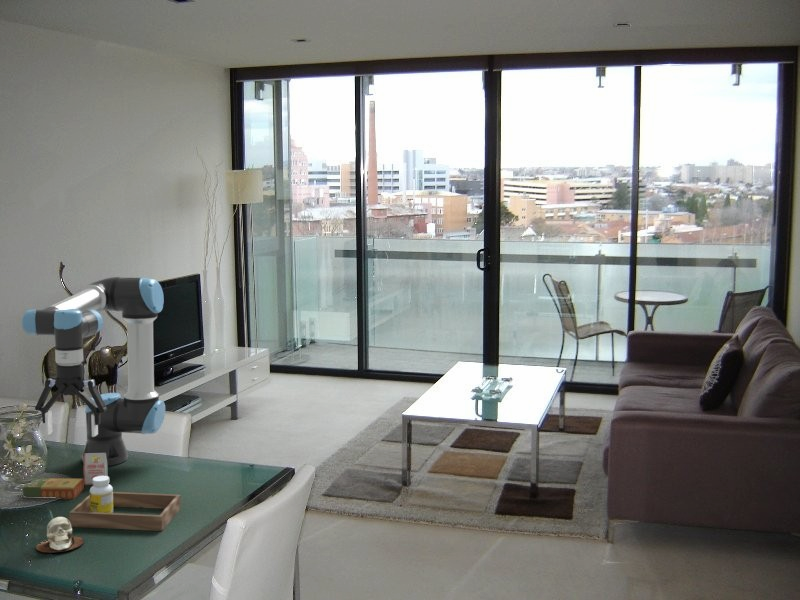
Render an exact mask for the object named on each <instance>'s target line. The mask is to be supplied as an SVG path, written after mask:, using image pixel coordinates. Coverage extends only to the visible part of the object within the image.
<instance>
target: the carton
mask: <svg viewBox="0 0 800 600" xmlns="http://www.w3.org/2000/svg"><path fill="white" fill-rule="evenodd" d="M39 478H40V479H39V480H38V481H37V482H35V483H32V484H29V485H26V484H25V485H23V487H22V495H23V496H26V497H56V498H65V499H64V500H75V499H76V498H77V497H78V496H79V495H80V494H81V493H82V492H83V491H84V489H85V487H84V486H85V485H84V478H74V477H73V478H69V477H67V478H66V477H65V478H64V477H62V478H61V477H60V478H59V477H45V478H44V477H39Z"/></svg>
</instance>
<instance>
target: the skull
mask: <svg viewBox="0 0 800 600" xmlns="http://www.w3.org/2000/svg"><path fill="white" fill-rule="evenodd" d="M46 537H47V540H48V541H46V540H45V541H46V542H43V541H41V542H40V543H41V544H39V543H37V545H36V547H35V549H36V550H37V551H39V552H41V553H51V554H52V553H63V552H67V551H71V550H75V549H77V548H79V547H80V546H82V545H84V544H83V543H84V541H85V540H84V539H83V538H82V537H80V536H75V535H73V527H71V523H70V521H69V518H66V517H64V516H57V517H54V518H52V519H51V520H50V521H48V523H47V525H46ZM48 542H49V543H48Z"/></svg>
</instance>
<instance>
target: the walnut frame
mask: <svg viewBox="0 0 800 600" xmlns="http://www.w3.org/2000/svg"><path fill="white" fill-rule="evenodd" d="M113 507H119V508H120V507H121V508H122V507H123V508H139V507H143V508H145V509H161V510H162V509H163V510H162V512H161V513H160V514H142V513H141V514H138V513H121V512H120V513H119V512H113V513H99V512H90V494H88V496H86V497H85V498H84V499H83V500H82V501H81V502H79V503H78V504H77V505H76V506H75V507H74V508H73V509H71V510H70V511H69V512H68V520H69V521H70V523H71V527H72V528H90V529H91V528H92V529H93V528H94V529H110V530H111V529H116V530H117V529H118V530H135V531H136V530H139V531H158V532H161V531H163V530H164V529H165V528H166V527H167V526H168V524H169V523H170V522H171V521H172V519H174V517H175V516H176V515H177V514H178V513H179V511H180V510H181V509H182V495H181V494H172V493H171V494H170V493H169V494H168V493H150V492H149V493H147V492H146V493H145V492H127V491H125V492H123V491H113ZM143 508H142V509H143Z"/></svg>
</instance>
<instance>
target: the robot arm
mask: <svg viewBox="0 0 800 600" xmlns="http://www.w3.org/2000/svg"><path fill="white" fill-rule="evenodd" d="M164 297H165V296H164V291H163V288H162V286H161V284H160V283H159V282H158V281H157V280H156V279H154V278H148V277H147V278H146V277H120V276H113V277H106V278H103V279H99V280H97V281H95V282H91V283H89V284H87V285H85V286H83V287H82V288H81V289H80V290H79V292H77V293H75V294H73V295H71V296H68V297H67V298H65V299H62V300H61V301H58V302H56V303H54V304H52V305H50V306H47V307H45V308H43V309H29V310H26V311H25V312H24V314H23V315H22V320H21V323H22V324H21V325H22V330H23V332H24V333H25V334H27V335H35V336H50V337H51V336H52V337H54V349H55V350H54V351H55V353H54V354H55V363H56V364H55V377H56V379H53V378H52V377H50V378H47V379H46V380H45V381H44V388H43V390H42V392H41V394H40V396H39V399H38V400H37V403H36V405H35V407H34V410H35V411H39V412H41V421H42V424H44V425H45V427H44V428H45V429H44V430H45V436H49V435H51V434H52V433H53V413H52V410H50V409H51V408H52V407H53V405H54V404H55V403H56V402H57V401H58V399H59V398H60V397H61V396H62V395H63V396H74V397H75V396H77V397H78V398H80V399H81V400H82V401H83V403H84V404H85V425H86V428H85V429H86V442H85V444H84V449H83V452H82V455H81V459H82V463H83V464H84V453H106V458H107V466H108V467H111V466H115V465H119V464H121V463H124V462H125V461H127V460H128V458H129V457H128V453H129V452H128V449H127V447H126V445H125V442H124V439H123V434H124V433H127V434H141V435H147V434H149V435H150V434H151V435H153V434H156V433H157V432H158V431H159V430H160V429H161V428H162V424H163V423H164V420H165V414H166V405H165V402H164V401H163V400H161V399H160V396H159V395H160V394H159V392H157V391H156V390H155V373H154V372H155V365H154V363H155V362H154V360H155V358H154V357H155V356H154V321H156V319H157V318H158V314H159V313H161V312H162V310H163V309H164V301H165V300H164ZM101 311H103V312H104V311H107V312H108V311H109V312H121V315H122V317H121V318H122V319H123V320H124V321H125V322H126V335H127V336H126V339H127V340H126V343H127V344H126V345H127V346H126V347H127V350H126V351H127V381H128V382H127V387H128V388H127V391H126V393H124V395H123V398H122V395H121V393H118V392H107V393H102V394H101V393H100V392H99V390H98V388H97V385H96V380H95V379H94V378H92V379H91V380H89V379H88V380H85V377H84V376H85V373H84V372H85V371H84V369H85V367H84V363H83V362H84V340H83V339H85V338H88V337H91V336H94V335H96V334H97V333H99V332H100V331H101V330H102V329H103V325H104V320H103V316H102V315H101V313H100V312H101ZM54 386H56V388H57V390H56V391H55V393H54V394H53V395H52V396H51V398H50V399H49V400H48V401H47V399H48V397H49V394H50V393H51V391H52V388H53V387H54ZM85 386H86V388H87V389H88V391H89V393H90V395H91V396H90V395H89V394H88V393H87V391H86V389H85V388H84V387H85ZM46 401H47V403H46Z"/></svg>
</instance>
